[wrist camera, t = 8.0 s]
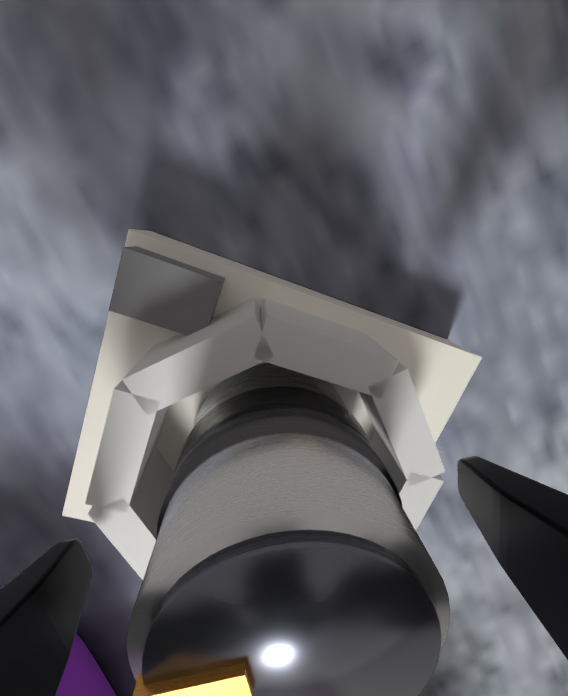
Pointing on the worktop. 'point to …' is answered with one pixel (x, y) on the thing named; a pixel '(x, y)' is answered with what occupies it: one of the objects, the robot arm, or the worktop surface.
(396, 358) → the mount block
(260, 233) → the worktop surface
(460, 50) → the worktop surface
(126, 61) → the worktop surface
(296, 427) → the lens
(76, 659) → the toy camera
